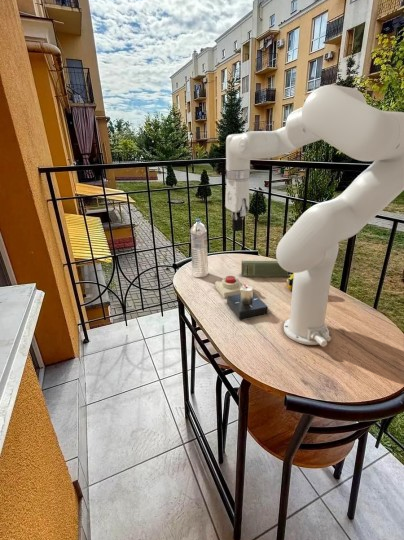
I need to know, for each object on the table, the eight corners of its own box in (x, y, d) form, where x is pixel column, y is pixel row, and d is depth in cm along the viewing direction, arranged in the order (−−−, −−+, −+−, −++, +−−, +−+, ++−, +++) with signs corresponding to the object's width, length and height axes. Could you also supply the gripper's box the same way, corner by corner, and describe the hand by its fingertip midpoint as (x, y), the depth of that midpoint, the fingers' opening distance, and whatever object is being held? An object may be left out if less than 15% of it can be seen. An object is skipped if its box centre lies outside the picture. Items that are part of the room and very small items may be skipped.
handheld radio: (241, 273, 123) (300, 274, 120) (241, 277, 120) (301, 277, 117) (241, 259, 120) (301, 259, 117) (241, 263, 117) (303, 263, 114)
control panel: (267, 314, 92) (267, 306, 91) (239, 320, 90) (239, 311, 89) (252, 298, 102) (252, 291, 101) (226, 303, 100) (226, 295, 98)
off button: (236, 283, 107) (236, 278, 106) (227, 284, 106) (227, 280, 105) (233, 279, 110) (233, 275, 109) (224, 280, 109) (224, 276, 108)
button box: (246, 294, 106) (246, 284, 104) (224, 298, 103) (224, 288, 102) (236, 282, 115) (236, 274, 113) (215, 286, 112) (215, 277, 111)
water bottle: (198, 270, 128) (196, 216, 119) (211, 273, 124) (209, 218, 115) (189, 275, 123) (186, 220, 114) (202, 279, 119) (199, 222, 110)
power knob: (254, 302, 94) (255, 288, 92) (243, 305, 93) (243, 290, 91) (249, 297, 97) (249, 283, 95) (238, 299, 96) (238, 285, 94)
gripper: (219, 174, 96) (219, 226, 103) (236, 178, 83) (235, 237, 89) (239, 173, 98) (238, 224, 104) (259, 176, 84) (257, 234, 91)
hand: (237, 230), depth 97 cm, fingers closed
